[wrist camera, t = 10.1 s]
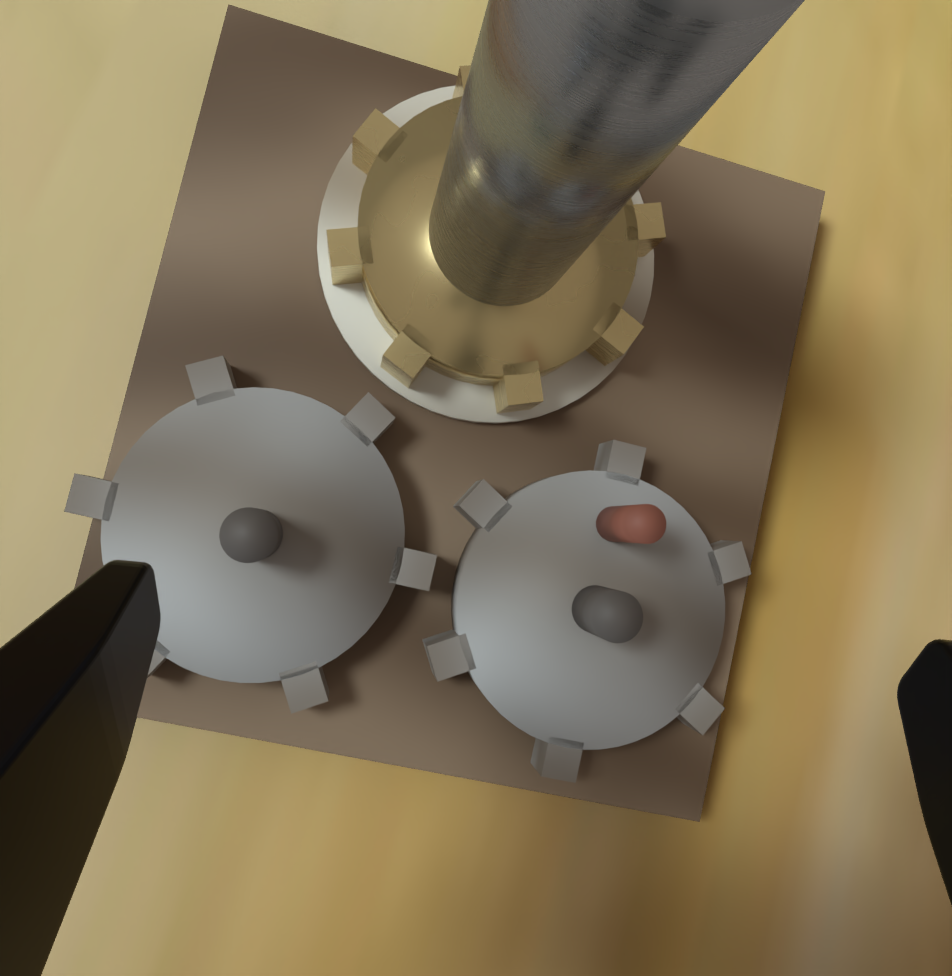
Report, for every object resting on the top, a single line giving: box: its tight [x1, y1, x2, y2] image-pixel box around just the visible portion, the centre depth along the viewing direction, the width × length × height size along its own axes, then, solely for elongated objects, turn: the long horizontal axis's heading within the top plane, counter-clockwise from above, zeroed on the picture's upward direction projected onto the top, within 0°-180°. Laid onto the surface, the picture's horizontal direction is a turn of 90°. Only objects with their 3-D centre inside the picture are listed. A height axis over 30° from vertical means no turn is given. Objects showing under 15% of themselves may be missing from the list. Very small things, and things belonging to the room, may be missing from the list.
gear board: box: [64, 5, 825, 822], centre depth 20 cm, size 18×17×5 cm
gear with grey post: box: [326, 0, 804, 414], centre depth 15 cm, size 8×8×13 cm
